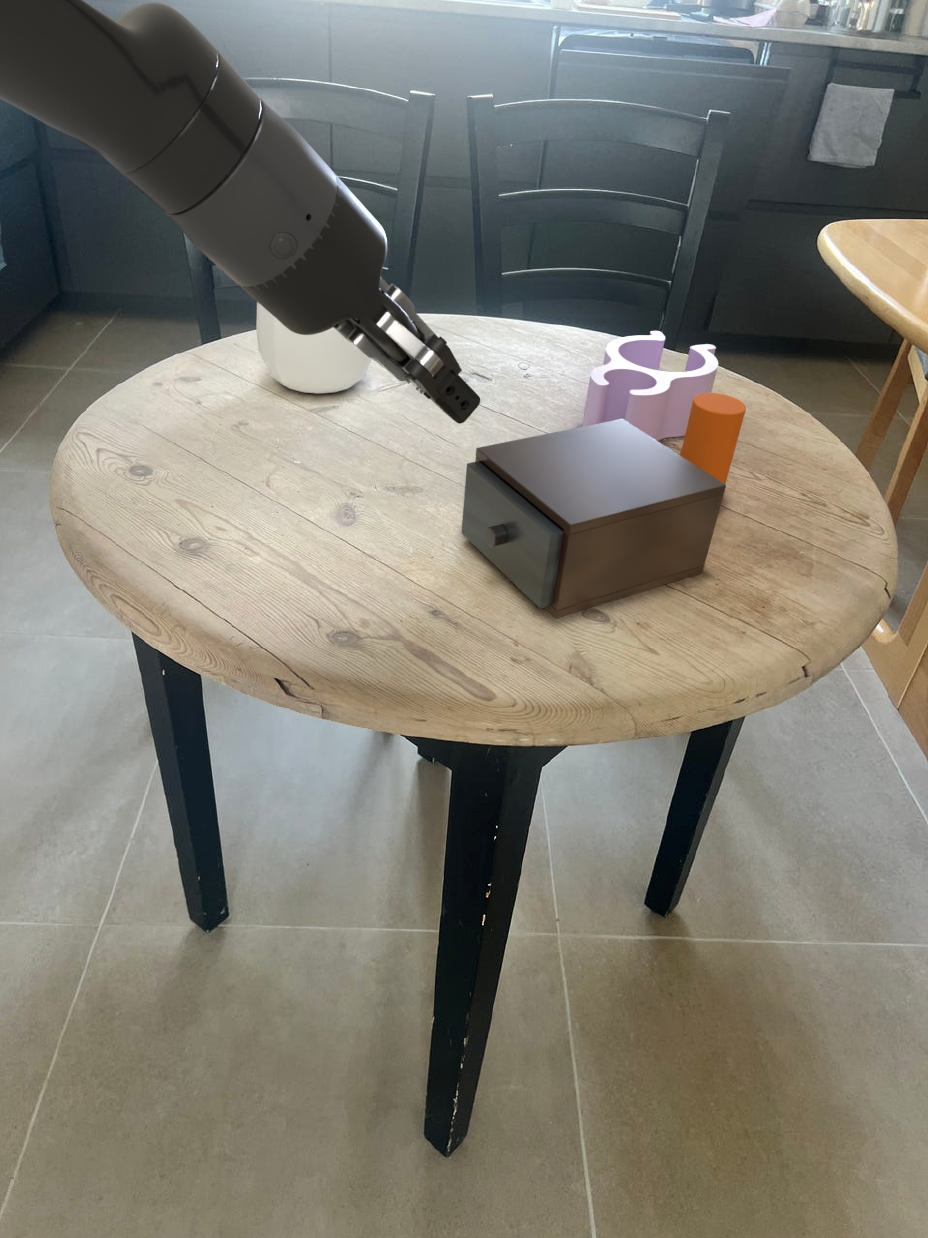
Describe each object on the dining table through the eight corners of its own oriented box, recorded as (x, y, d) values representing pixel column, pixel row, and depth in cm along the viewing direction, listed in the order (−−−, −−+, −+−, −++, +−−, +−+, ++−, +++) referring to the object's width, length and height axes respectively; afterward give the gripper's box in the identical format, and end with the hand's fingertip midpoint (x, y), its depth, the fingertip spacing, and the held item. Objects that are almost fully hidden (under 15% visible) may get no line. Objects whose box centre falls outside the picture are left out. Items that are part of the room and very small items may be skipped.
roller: (693, 514, 87) (718, 417, 81) (661, 492, 90) (682, 396, 84) (730, 504, 89) (757, 409, 83) (697, 483, 92) (720, 389, 86)
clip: (659, 468, 94) (673, 406, 90) (552, 434, 98) (561, 373, 94) (721, 407, 108) (736, 350, 104) (625, 380, 113) (635, 325, 108)
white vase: (397, 381, 107) (400, 263, 99) (320, 414, 98) (317, 289, 90) (315, 351, 113) (311, 238, 105) (235, 380, 104) (225, 259, 96)
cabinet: (555, 618, 72) (570, 525, 66) (468, 535, 81) (475, 447, 76) (702, 573, 78) (726, 485, 73) (607, 501, 88) (622, 418, 82)
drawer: (527, 613, 70) (537, 538, 66) (449, 535, 79) (453, 465, 75) (680, 566, 77) (698, 496, 73) (593, 500, 86) (605, 434, 82)
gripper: (382, 193, 42) (562, 403, 54) (277, 138, 50) (453, 330, 63) (278, 320, 42) (480, 498, 55) (193, 244, 51) (384, 413, 64)
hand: (465, 408), depth 59 cm, fingers closed
